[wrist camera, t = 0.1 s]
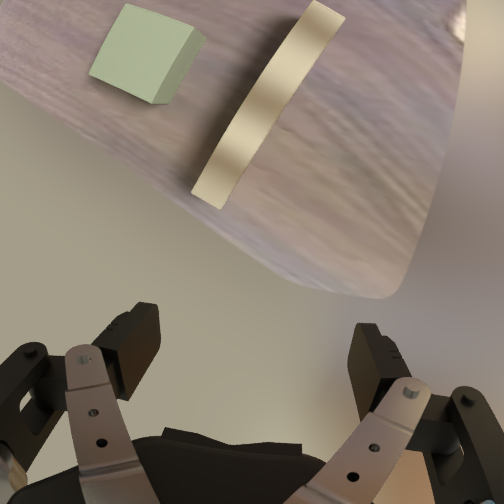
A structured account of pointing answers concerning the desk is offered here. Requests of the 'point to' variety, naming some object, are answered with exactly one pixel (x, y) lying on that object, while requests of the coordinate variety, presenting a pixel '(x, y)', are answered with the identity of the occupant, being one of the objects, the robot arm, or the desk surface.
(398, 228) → the desk surface
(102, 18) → the desk surface
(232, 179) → the stop board
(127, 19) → the sage block
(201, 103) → the desk surface
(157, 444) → the robot arm
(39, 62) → the desk surface
